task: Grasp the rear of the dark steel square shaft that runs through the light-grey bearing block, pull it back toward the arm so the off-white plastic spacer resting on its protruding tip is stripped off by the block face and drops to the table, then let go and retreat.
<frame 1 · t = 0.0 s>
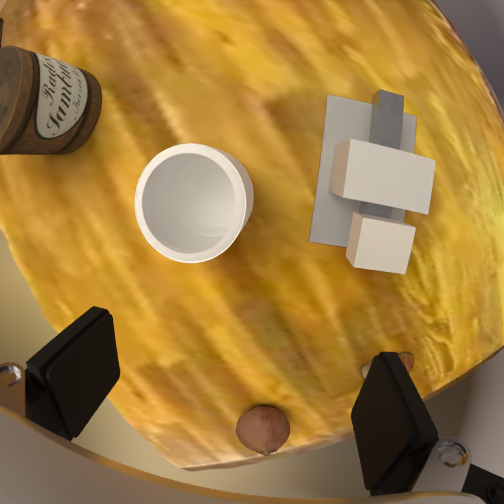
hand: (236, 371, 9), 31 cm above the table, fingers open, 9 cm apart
jar: (221, 191, 39), on the table
bearing block: (366, 175, 36), on the table
shaft: (380, 176, 31), point 6 cm above the table, slide at 0.0 cm, touching spacer
onion: (264, 412, 49), on the table
pastry: (383, 366, 44), on the table
spacer: (374, 238, 31), point 7 cm above the table, touching shaft
wooden container: (69, 111, 38), on the table
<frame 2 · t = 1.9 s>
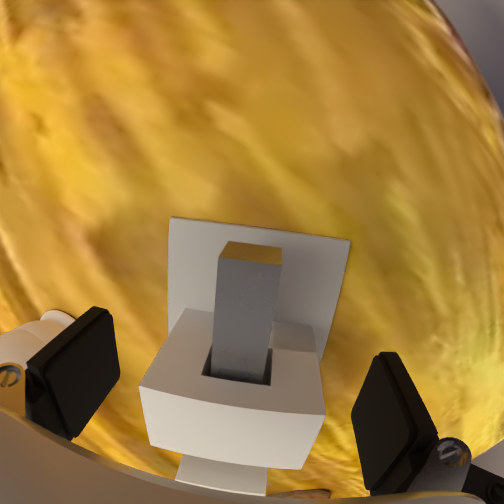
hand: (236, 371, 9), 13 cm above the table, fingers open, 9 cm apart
jar: (69, 342, 27), on the table
bearing block: (245, 344, 24), on the table
shaft: (235, 393, 18), point 6 cm above the table, slide at 0.0 cm, touching spacer
pastry: (295, 495, 33), on the table
spacer: (226, 461, 19), point 7 cm above the table, touching shaft
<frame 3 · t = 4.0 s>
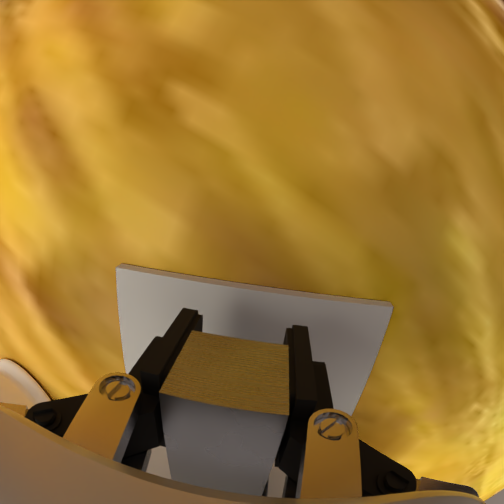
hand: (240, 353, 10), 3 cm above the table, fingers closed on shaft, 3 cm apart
jar: (30, 394, 19), on the table
bearing block: (234, 429, 16), on the table
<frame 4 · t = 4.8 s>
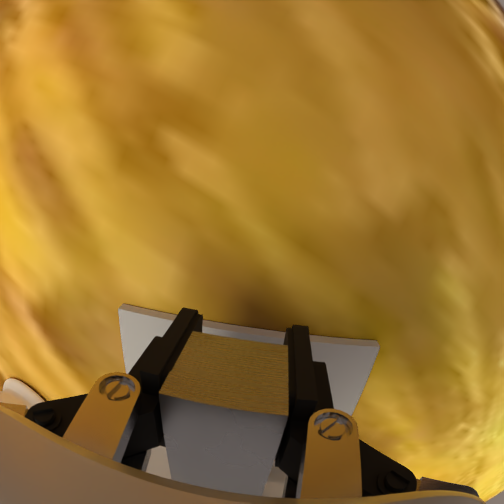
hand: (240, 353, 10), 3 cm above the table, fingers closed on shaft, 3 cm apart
jar: (37, 410, 19), on the table
bearing block: (232, 447, 16), on the table
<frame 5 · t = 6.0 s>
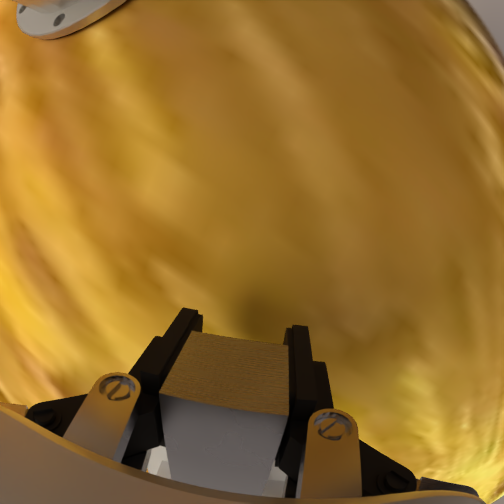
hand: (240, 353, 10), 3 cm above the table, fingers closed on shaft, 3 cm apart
bearing block: (226, 485, 18), on the table
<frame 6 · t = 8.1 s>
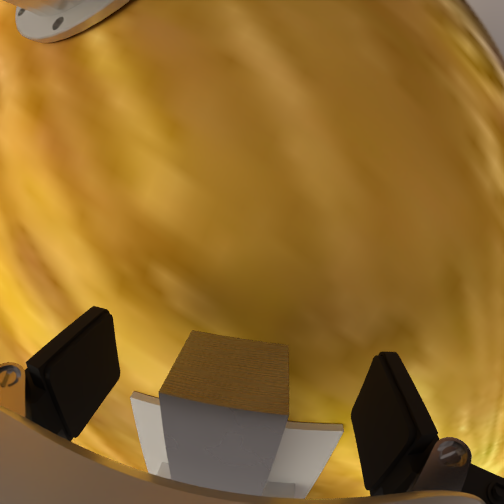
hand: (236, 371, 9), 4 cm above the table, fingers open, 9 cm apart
bearing block: (226, 486, 18), on the table
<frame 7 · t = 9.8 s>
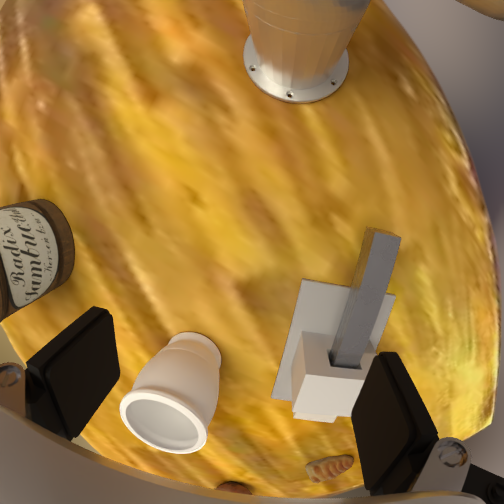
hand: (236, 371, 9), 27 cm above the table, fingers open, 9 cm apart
jar: (194, 354, 41), on the table
bearing block: (330, 351, 39), on the table
shaft: (358, 318, 31), point 6 cm above the table, slide at 8.5 cm
onion: (234, 485, 51), on the table
pastry: (327, 462, 47), on the table
spacer: (321, 390, 37), point 3 cm above the table, tilted 90°, touching bearing block
wooden container: (44, 243, 39), on the table
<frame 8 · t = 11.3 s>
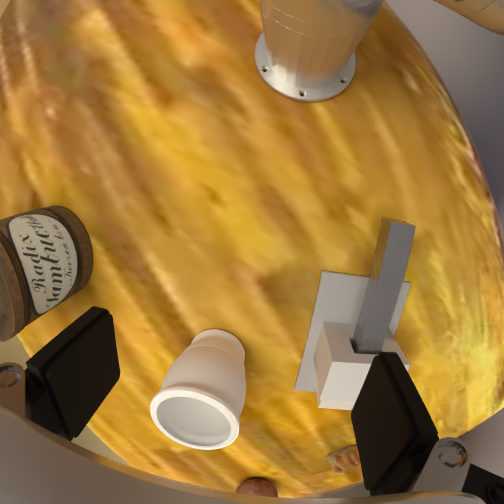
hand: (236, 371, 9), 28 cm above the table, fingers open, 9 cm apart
jar: (218, 351, 43), on the table
bearing block: (350, 340, 40), on the table
shaft: (378, 305, 32), point 6 cm above the table, slide at 8.5 cm
onion: (258, 480, 52), on the table
pastry: (347, 451, 47), on the table
spacer: (344, 378, 38), point 3 cm above the table, tilted 90°, touching bearing block
wooden container: (61, 249, 41), on the table
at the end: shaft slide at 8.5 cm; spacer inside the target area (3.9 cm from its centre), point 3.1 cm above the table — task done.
